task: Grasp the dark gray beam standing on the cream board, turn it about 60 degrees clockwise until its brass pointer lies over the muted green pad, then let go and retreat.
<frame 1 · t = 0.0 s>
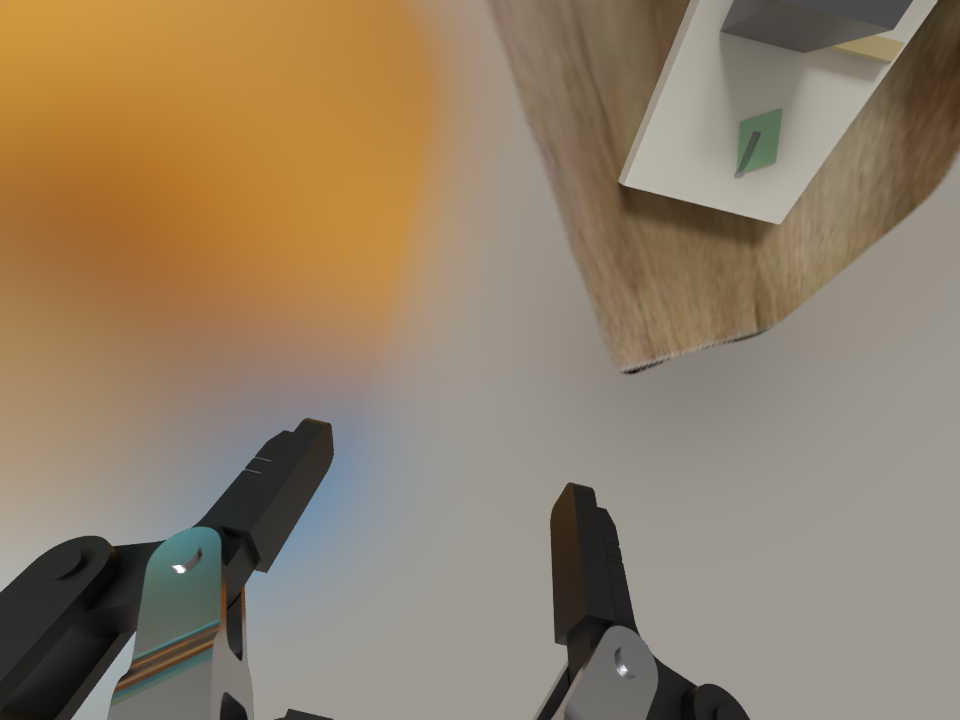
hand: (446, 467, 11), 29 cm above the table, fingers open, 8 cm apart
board: (766, 58, 25), on the table
dark gray beam: (848, 20, 20), point 6 cm above the table, hinge at 0.0°
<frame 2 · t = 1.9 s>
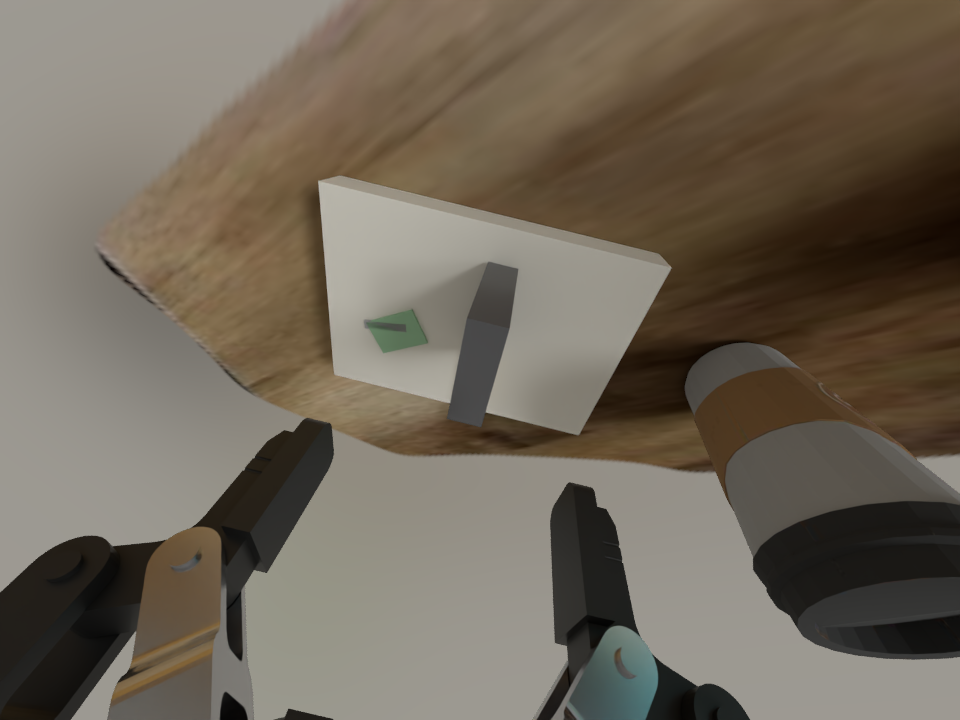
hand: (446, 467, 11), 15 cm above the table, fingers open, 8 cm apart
coffee cup: (729, 374, 25), on the table
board: (477, 314, 25), on the table
dark gray beam: (476, 375, 20), point 6 cm above the table, hinge at 0.0°
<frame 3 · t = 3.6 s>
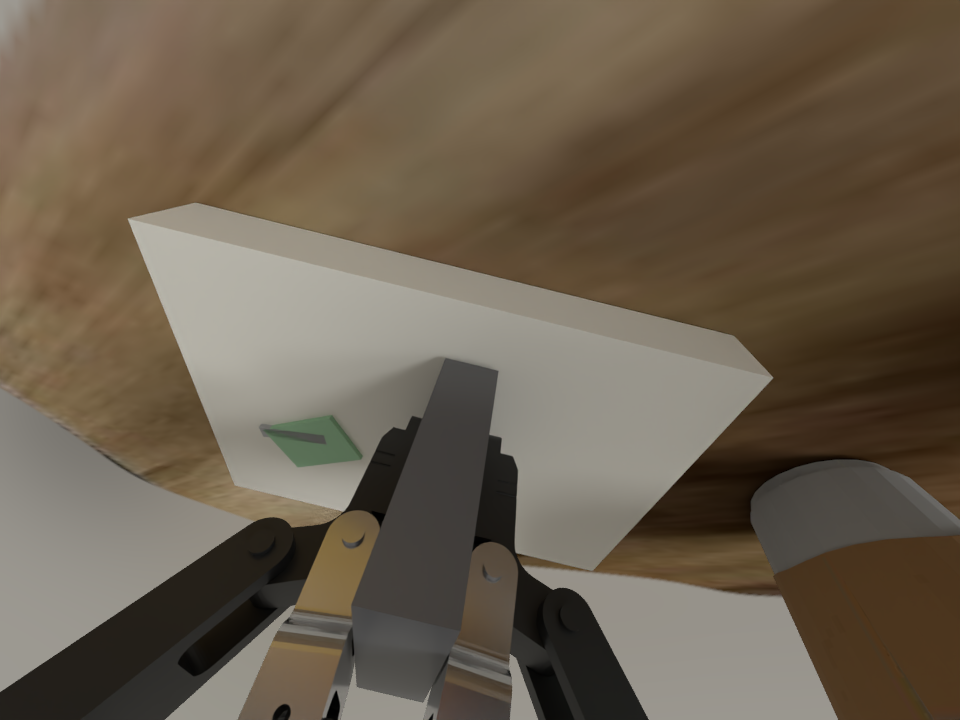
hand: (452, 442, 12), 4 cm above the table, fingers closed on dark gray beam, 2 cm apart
coffee cup: (817, 494, 17), on the table
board: (441, 406, 16), on the table
dark gray beam: (426, 550, 11), point 6 cm above the table, hinge at 0.0°, touching gripper
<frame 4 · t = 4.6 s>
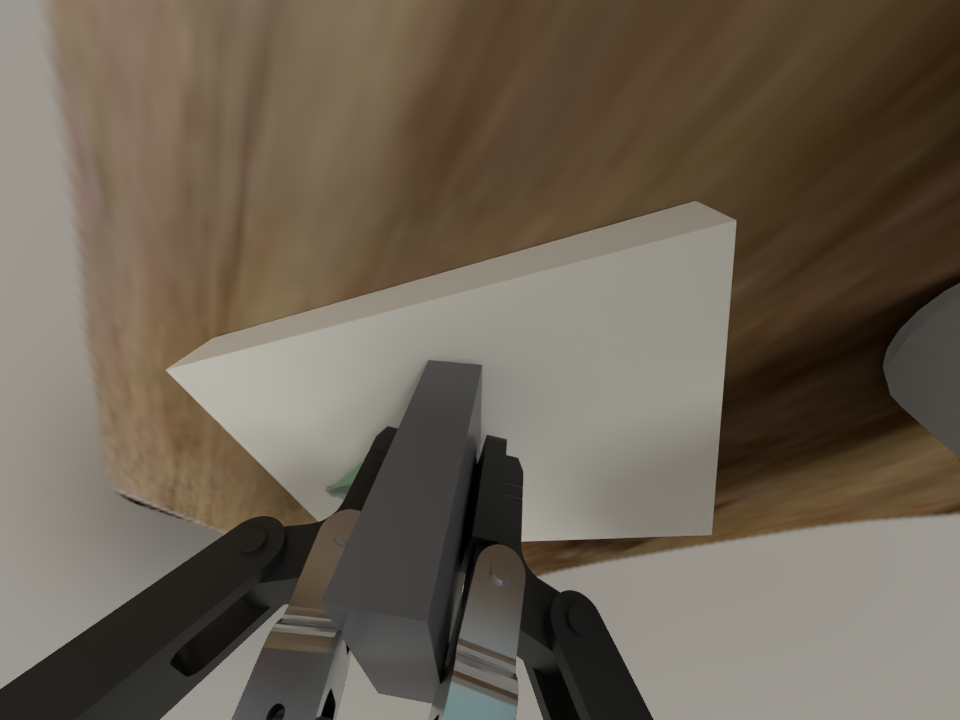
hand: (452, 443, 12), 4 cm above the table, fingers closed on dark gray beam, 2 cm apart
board: (463, 415, 16), on the table
dark gray beam: (440, 553, 11), point 6 cm above the table, hinge at -19.3°, touching gripper
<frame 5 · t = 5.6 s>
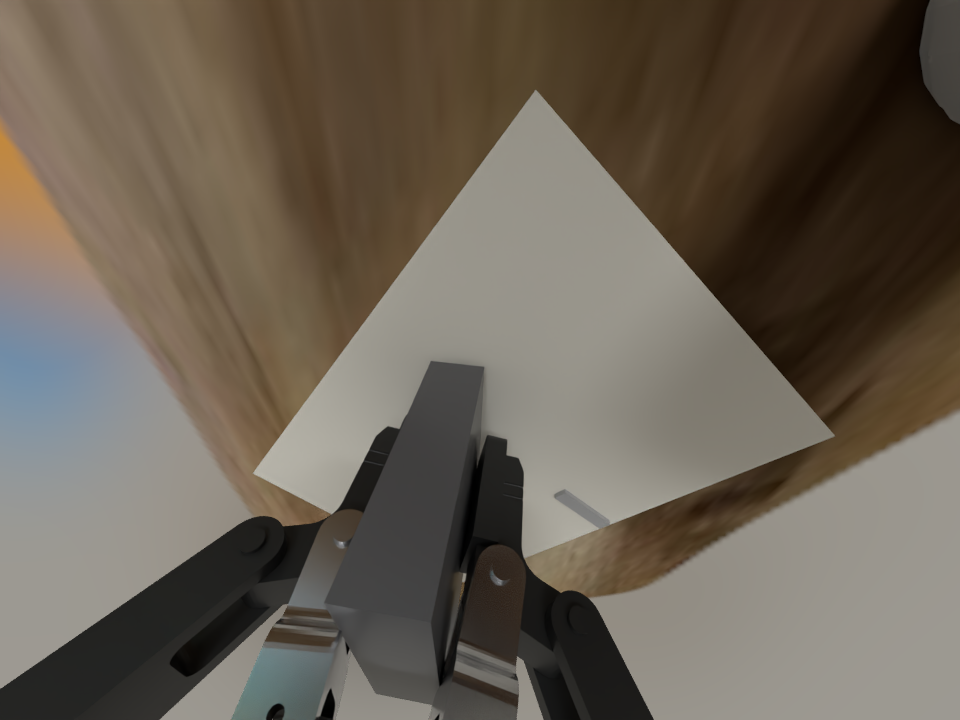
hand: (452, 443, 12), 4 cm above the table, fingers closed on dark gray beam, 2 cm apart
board: (488, 417, 16), on the table
dark gray beam: (438, 554, 11), point 6 cm above the table, hinge at -51.7°, touching gripper
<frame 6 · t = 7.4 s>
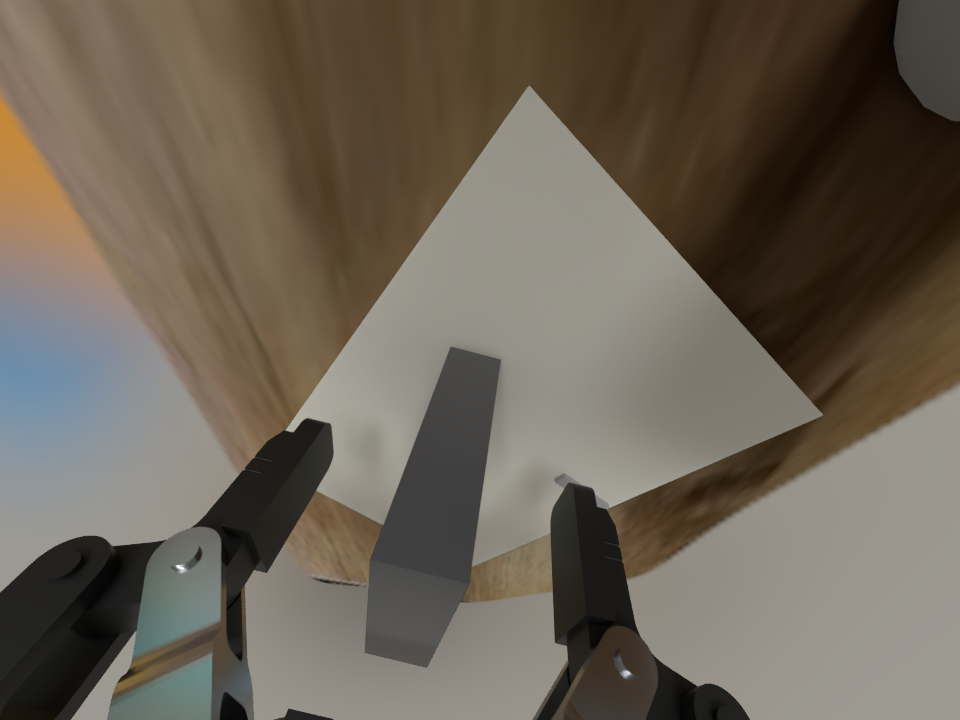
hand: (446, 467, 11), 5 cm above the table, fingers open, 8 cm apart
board: (489, 405, 17), on the table
dark gray beam: (429, 530, 12), point 6 cm above the table, hinge at -63.1°
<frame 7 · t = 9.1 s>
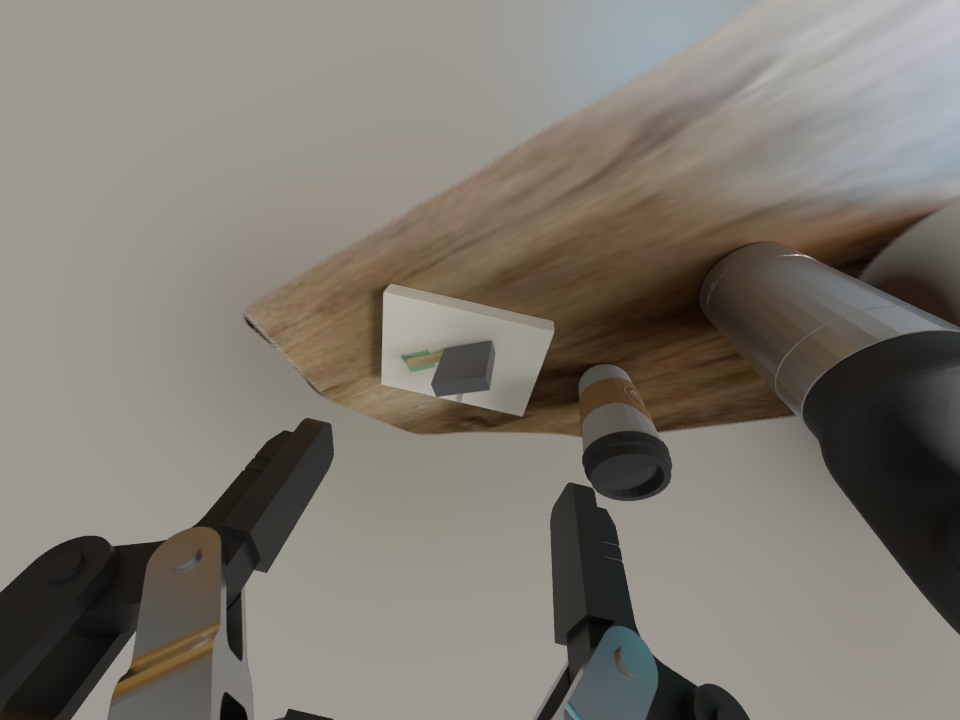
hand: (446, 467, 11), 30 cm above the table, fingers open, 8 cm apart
coffee cup: (602, 380, 45), on the table
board: (463, 349, 44), on the table
dark gray beam: (444, 370, 39), point 6 cm above the table, hinge at -64.0°
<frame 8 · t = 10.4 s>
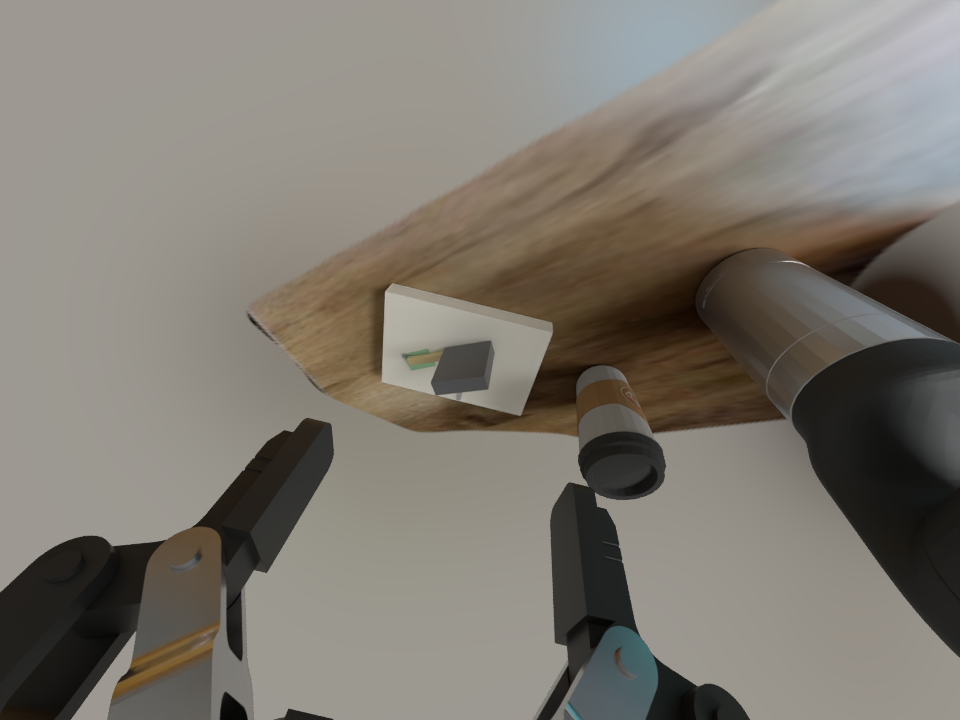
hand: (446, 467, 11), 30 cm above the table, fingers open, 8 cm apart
coffee cup: (599, 381, 45), on the table
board: (462, 349, 45), on the table
dark gray beam: (444, 369, 39), point 6 cm above the table, hinge at -64.0°
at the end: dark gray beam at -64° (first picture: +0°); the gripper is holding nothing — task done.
